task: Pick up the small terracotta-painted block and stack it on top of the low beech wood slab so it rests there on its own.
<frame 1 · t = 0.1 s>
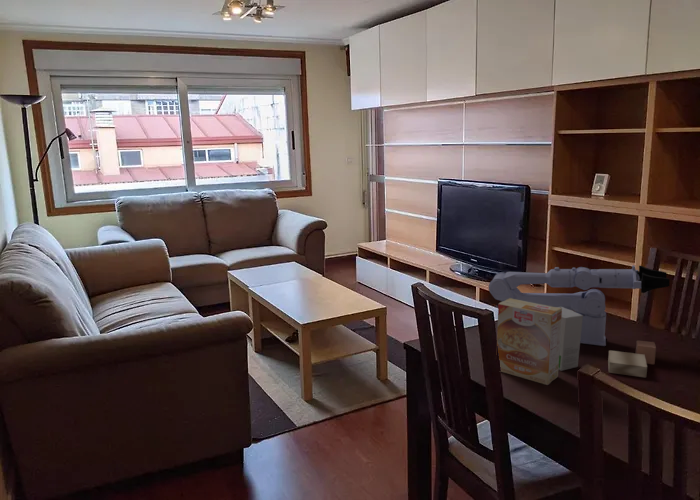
hand: (667, 279, 159), 22 cm above the table, tool horizontal, fingers open, 7 cm apart
terracotta block: (644, 360, 155), on the table
skincare box: (559, 364, 154), on the table
beech slab: (626, 368, 150), on the table
coffeecake box: (526, 374, 149), on the table
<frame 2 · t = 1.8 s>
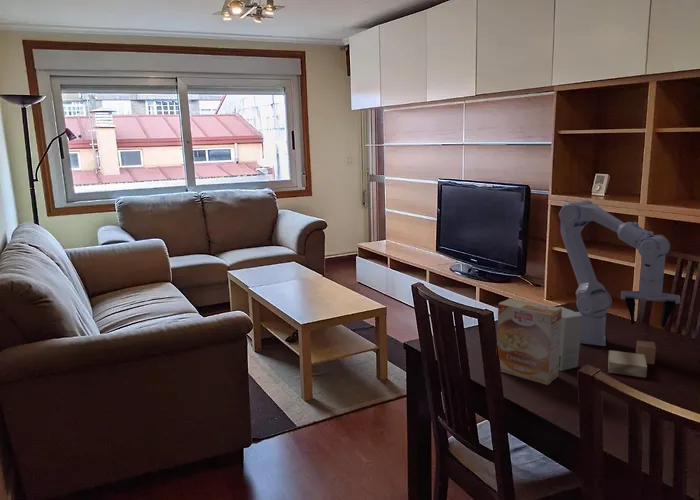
hand: (647, 325, 155), 10 cm above the table, tool pointing down, fingers open, 7 cm apart
nothing on the table moved.
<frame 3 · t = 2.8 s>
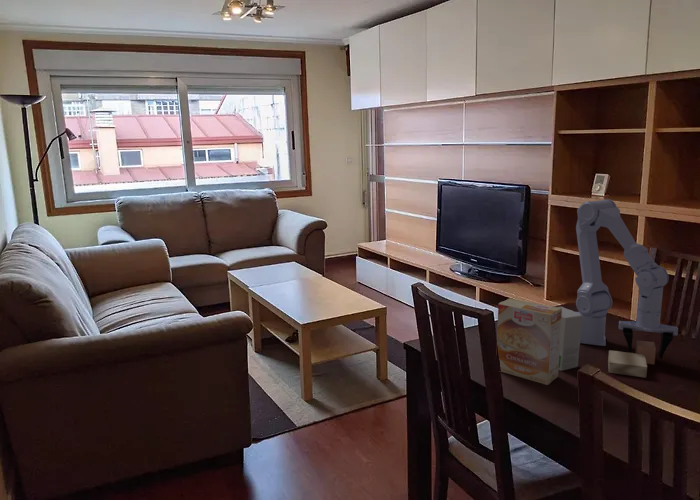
hand: (645, 355, 155), 1 cm above the table, tool pointing down, fingers open, 7 cm apart
nothing on the table moved.
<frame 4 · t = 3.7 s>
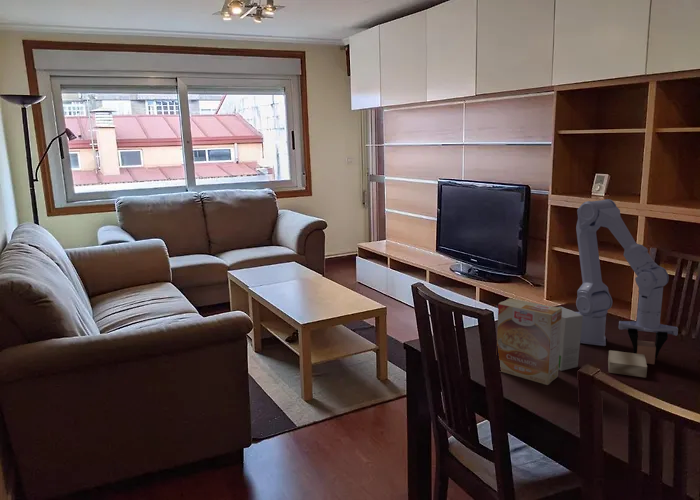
hand: (645, 355, 155), 1 cm above the table, tool pointing down, fingers closed on terracotta block, 4 cm apart
terracotta block: (644, 360, 155), on the table, touching gripper
everything else where it was.
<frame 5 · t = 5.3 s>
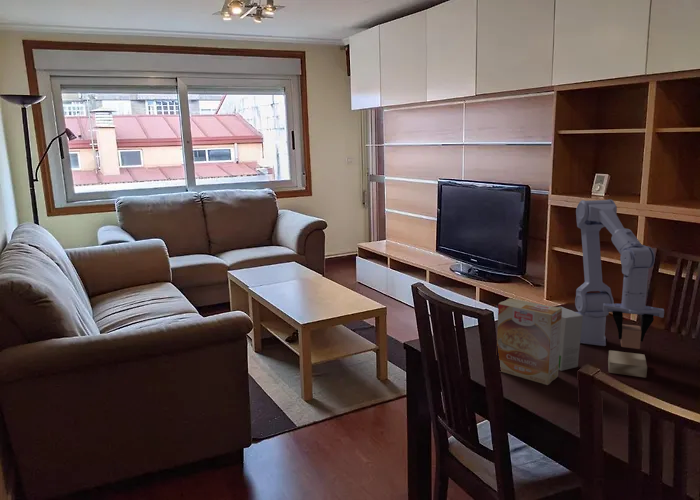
hand: (630, 339, 149), 8 cm above the table, tool pointing down, fingers closed on terracotta block, 4 cm apart
terracotta block: (630, 344, 149), point 7 cm above the table, touching gripper
everything else where it was.
when the fingers open (5 cm above the table, at t = 7.1 s): terracotta block stays where it is, resting on beech slab.
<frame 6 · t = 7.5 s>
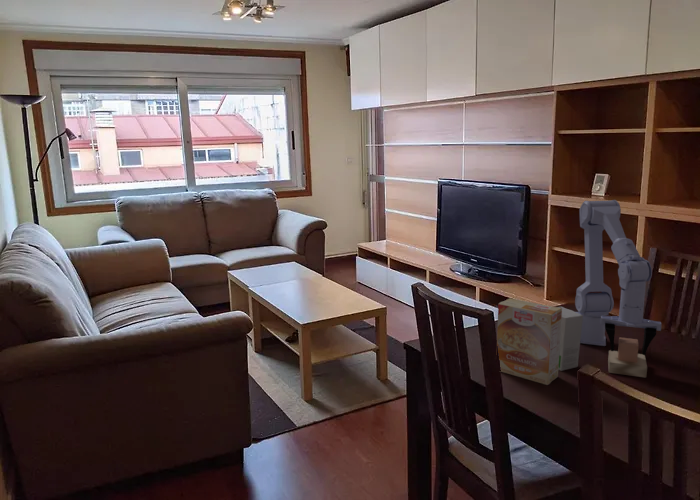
hand: (627, 351, 149), 5 cm above the table, tool pointing down, fingers open, 7 cm apart
terracotta block: (627, 358, 150), point 3 cm above the table, touching beech slab
everything else where it was.
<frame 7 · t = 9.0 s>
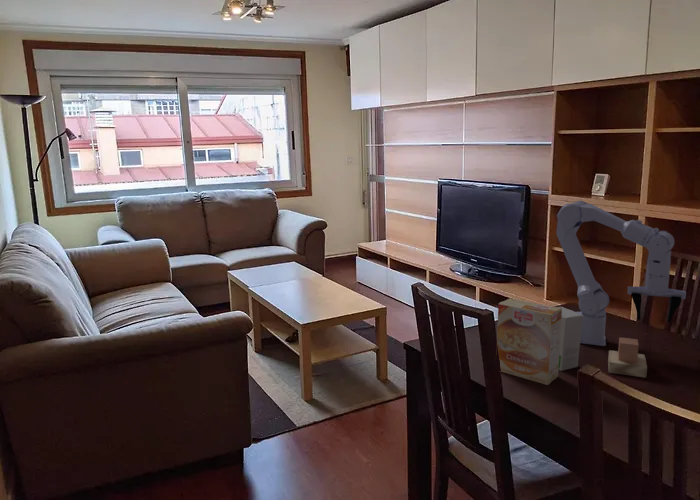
hand: (653, 320, 158), 10 cm above the table, tool pointing down, fingers open, 7 cm apart
nothing on the table moved.
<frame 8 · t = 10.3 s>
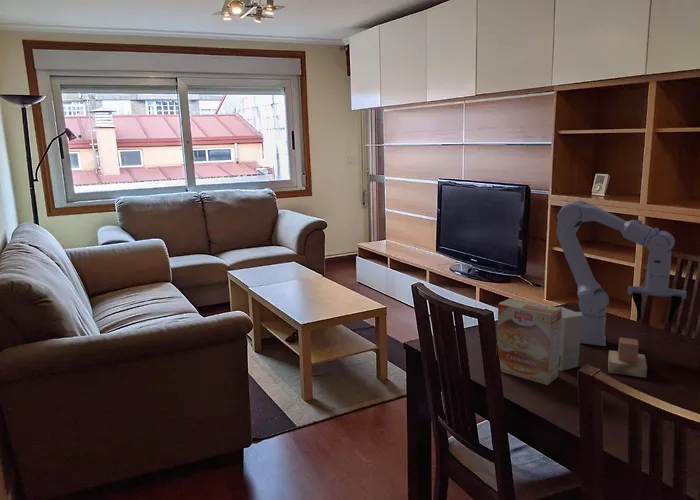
hand: (653, 319, 158), 10 cm above the table, tool pointing down, fingers open, 7 cm apart
nothing on the table moved.
at the end: terracotta block 0.0 cm off-centre on the beech slab, point 3.0 cm above the beech slab's base; terracotta block tilted 0°; the gripper is holding nothing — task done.
